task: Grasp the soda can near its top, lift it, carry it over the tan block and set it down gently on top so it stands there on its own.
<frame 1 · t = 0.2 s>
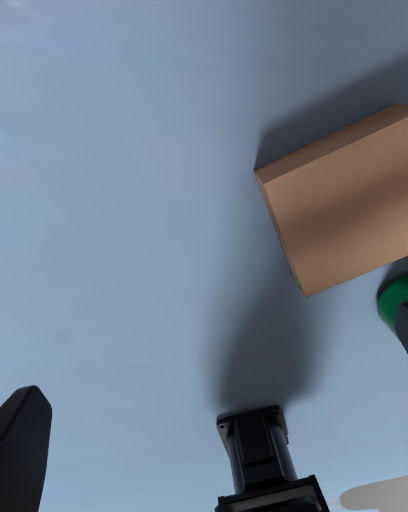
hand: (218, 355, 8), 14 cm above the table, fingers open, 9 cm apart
soda can: (402, 293, 28), on the table
tan block: (338, 201, 23), on the table
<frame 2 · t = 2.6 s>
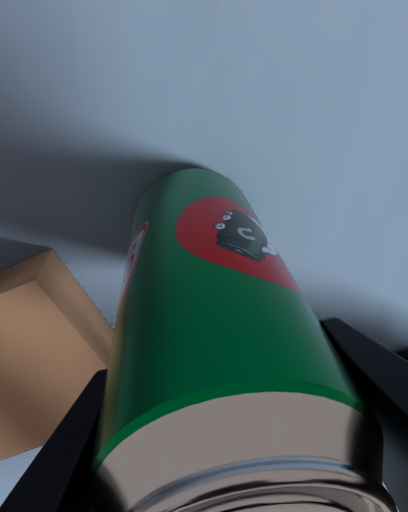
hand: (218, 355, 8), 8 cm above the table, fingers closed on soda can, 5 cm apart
soda can: (191, 218, 15), on the table, touching gripper
tan block: (27, 347, 18), on the table
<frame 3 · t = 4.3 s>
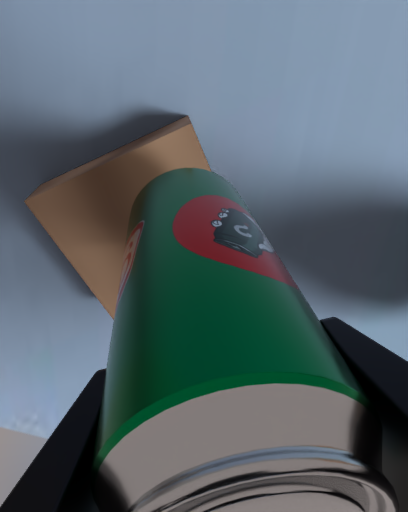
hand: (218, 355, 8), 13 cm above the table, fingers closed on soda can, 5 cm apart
soda can: (187, 218, 15), point 5 cm above the table, touching gripper
tan block: (150, 220, 21), on the table
when the fingers open (11 cm above the table, at t = 6.1 s): soda can stays where it is, resting on tan block.
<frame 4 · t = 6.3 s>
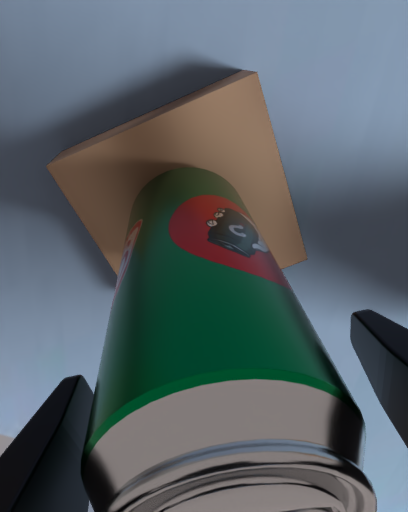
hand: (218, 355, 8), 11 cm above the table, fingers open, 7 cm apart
soda can: (187, 217, 16), point 2 cm above the table, touching tan block
tan block: (188, 198, 18), on the table
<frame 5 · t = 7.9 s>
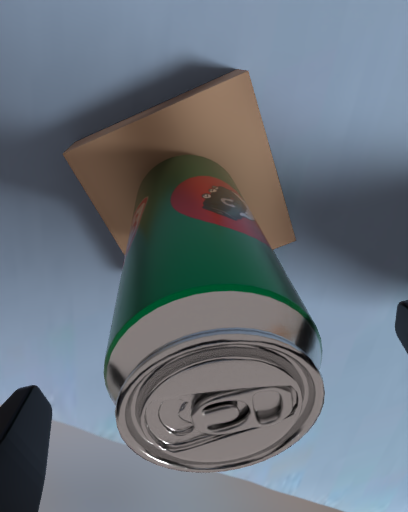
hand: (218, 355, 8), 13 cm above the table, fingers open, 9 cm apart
soda can: (187, 200, 17), point 2 cm above the table, touching tan block
tan block: (188, 185, 19), on the table
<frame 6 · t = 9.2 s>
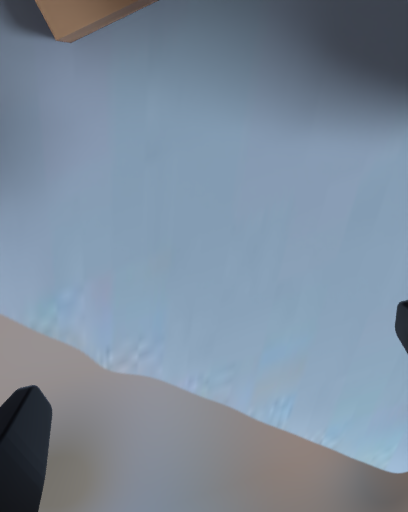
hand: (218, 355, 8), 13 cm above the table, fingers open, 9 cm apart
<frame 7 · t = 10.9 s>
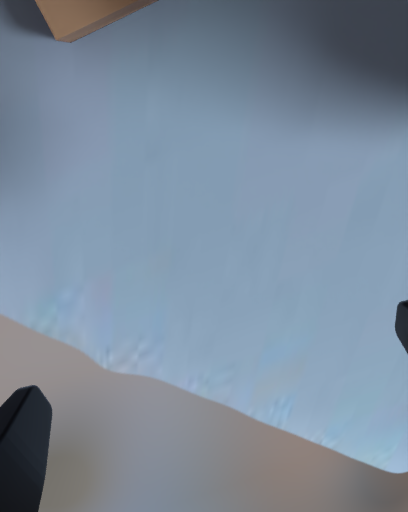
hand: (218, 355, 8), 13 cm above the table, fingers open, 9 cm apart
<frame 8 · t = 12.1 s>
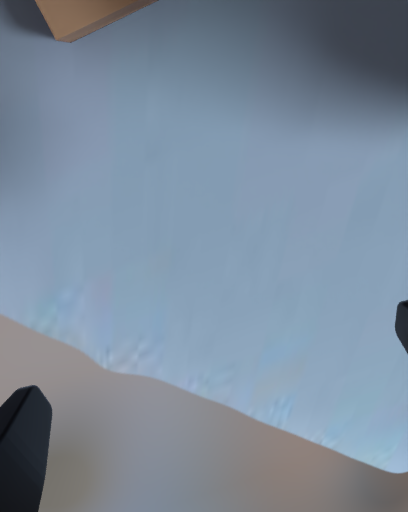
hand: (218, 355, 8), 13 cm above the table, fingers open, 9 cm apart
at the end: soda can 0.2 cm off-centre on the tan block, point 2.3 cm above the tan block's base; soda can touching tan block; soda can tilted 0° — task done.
